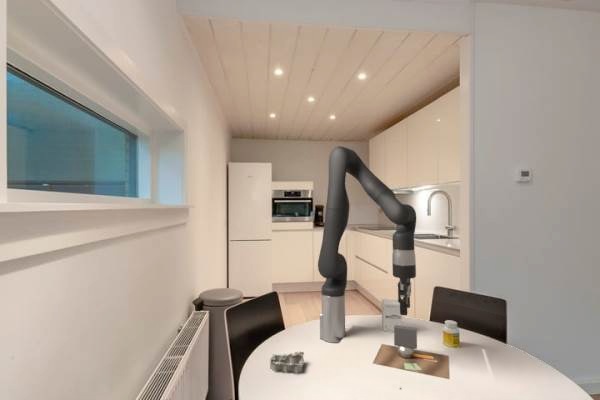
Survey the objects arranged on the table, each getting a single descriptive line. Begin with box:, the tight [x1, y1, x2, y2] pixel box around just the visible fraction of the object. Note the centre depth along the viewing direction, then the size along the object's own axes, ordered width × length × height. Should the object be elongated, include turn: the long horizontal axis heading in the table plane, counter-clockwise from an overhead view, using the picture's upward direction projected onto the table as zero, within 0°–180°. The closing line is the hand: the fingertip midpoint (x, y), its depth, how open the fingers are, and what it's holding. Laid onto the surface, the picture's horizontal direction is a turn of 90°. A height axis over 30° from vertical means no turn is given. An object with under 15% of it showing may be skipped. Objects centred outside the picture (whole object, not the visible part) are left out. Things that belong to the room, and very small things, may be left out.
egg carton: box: [269, 351, 305, 374], centre depth 98 cm, size 11×8×4 cm
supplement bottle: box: [442, 319, 461, 349], centre depth 111 cm, size 5×5×10 cm
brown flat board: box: [372, 343, 450, 380], centre depth 100 cm, size 22×16×2 cm
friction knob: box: [393, 325, 433, 360], centre depth 102 cm, size 12×5×9 cm, turn 65°
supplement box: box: [381, 298, 403, 333], centre depth 127 cm, size 7×7×13 cm
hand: (405, 311), depth 103 cm, fingers open, 8 cm apart
